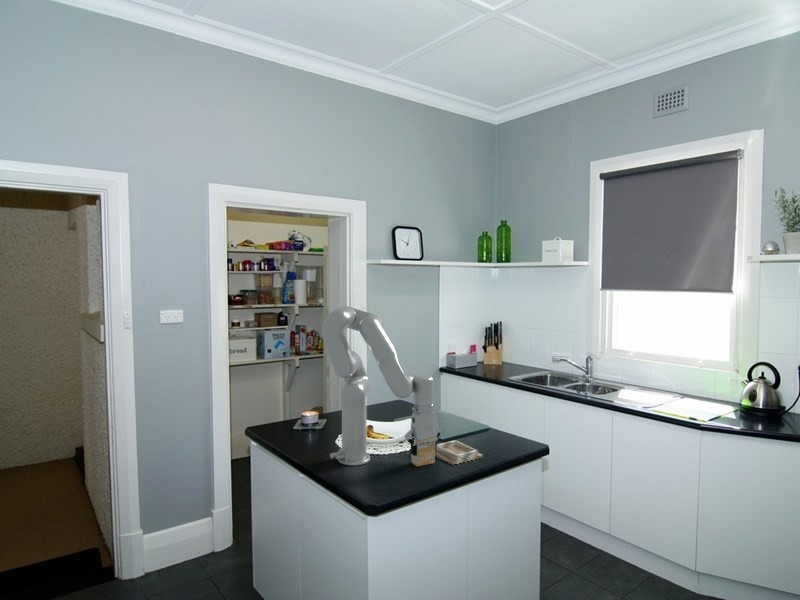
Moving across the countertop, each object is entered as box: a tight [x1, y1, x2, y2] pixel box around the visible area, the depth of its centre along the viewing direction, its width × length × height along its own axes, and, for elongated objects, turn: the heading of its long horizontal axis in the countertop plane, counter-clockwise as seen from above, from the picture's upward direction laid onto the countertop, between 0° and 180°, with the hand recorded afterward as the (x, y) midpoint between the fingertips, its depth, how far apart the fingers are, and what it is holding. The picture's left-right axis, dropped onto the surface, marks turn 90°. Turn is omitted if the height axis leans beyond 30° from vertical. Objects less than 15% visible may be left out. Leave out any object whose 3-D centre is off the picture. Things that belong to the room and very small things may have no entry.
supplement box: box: [410, 433, 436, 467], centre depth 192 cm, size 8×5×13 cm, turn 118°
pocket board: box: [435, 440, 484, 466], centre depth 201 cm, size 15×15×3 cm
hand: (423, 452), depth 192 cm, fingers open, 8 cm apart
